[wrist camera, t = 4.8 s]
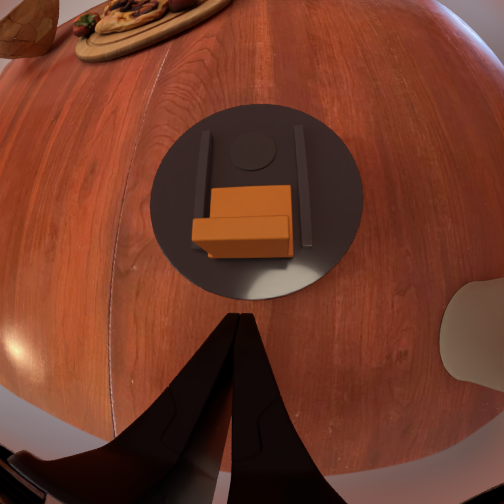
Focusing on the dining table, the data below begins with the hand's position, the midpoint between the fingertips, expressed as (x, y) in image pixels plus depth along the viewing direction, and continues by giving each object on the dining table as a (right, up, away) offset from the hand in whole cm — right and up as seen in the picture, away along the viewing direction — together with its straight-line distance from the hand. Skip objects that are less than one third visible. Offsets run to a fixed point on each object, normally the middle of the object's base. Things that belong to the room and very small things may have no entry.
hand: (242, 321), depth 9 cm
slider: (0, +4, +3) cm, 5 cm away
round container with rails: (+1, +4, +13) cm, 13 cm away
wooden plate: (-18, +46, +24) cm, 55 cm away
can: (+21, -5, +9) cm, 23 cm away
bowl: (-52, +53, +29) cm, 80 cm away
